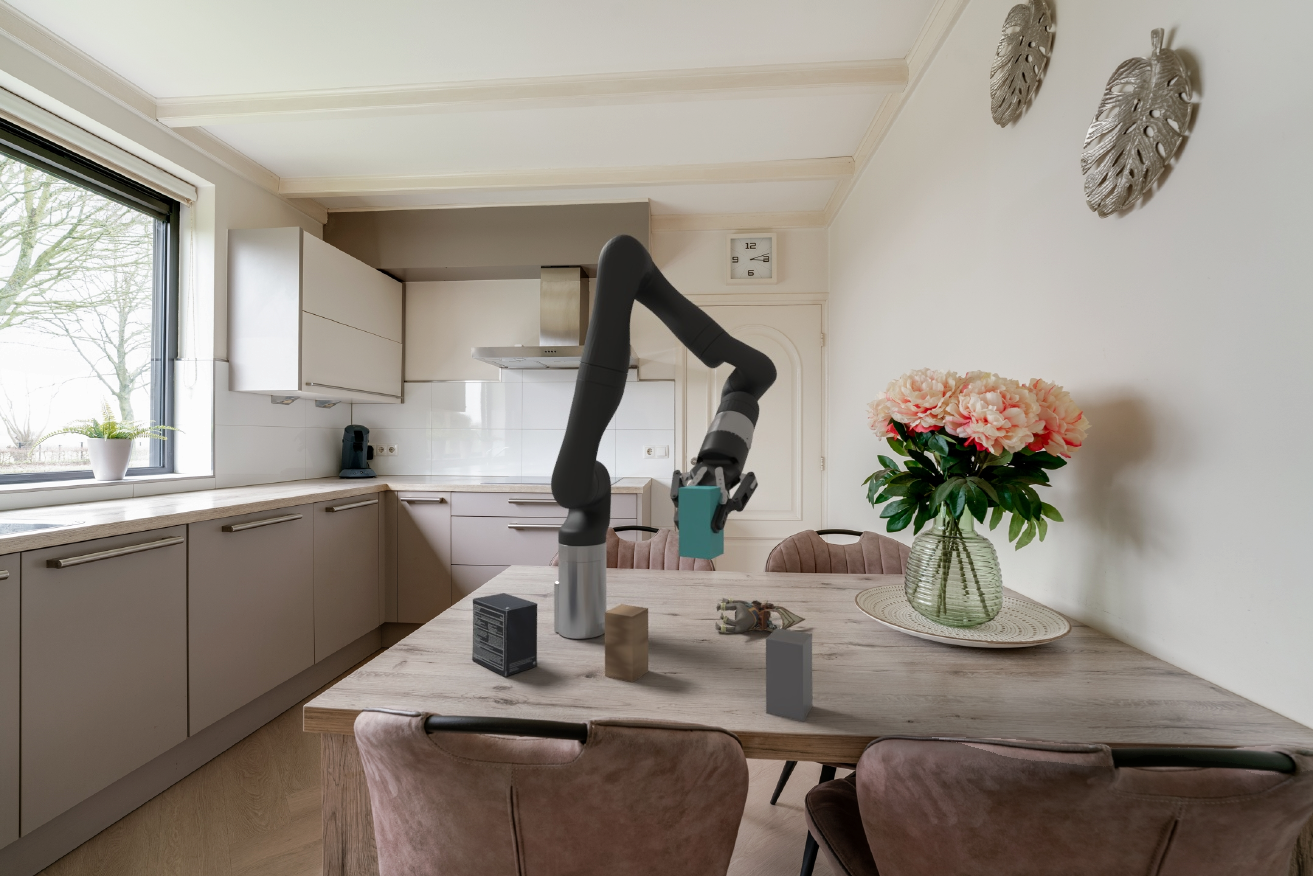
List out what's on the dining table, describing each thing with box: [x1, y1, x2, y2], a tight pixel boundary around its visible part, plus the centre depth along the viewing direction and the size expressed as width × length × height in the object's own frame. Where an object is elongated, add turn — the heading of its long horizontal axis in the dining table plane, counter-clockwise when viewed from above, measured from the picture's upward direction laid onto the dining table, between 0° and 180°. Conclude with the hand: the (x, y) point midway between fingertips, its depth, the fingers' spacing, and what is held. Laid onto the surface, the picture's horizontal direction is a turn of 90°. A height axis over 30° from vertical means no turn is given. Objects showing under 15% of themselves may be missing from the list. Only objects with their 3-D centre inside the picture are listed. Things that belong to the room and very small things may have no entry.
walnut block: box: [604, 603, 649, 683], centre depth 90 cm, size 5×5×10 cm
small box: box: [471, 592, 538, 678], centre depth 95 cm, size 11×6×10 cm, turn 47°
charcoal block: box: [765, 627, 813, 723], centre depth 78 cm, size 5×5×10 cm
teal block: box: [678, 486, 725, 560], centre depth 84 cm, size 5×5×10 cm
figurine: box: [714, 597, 806, 634], centre depth 112 cm, size 20×6×17 cm
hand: (696, 528), depth 83 cm, fingers closed on teal block, 5 cm apart
